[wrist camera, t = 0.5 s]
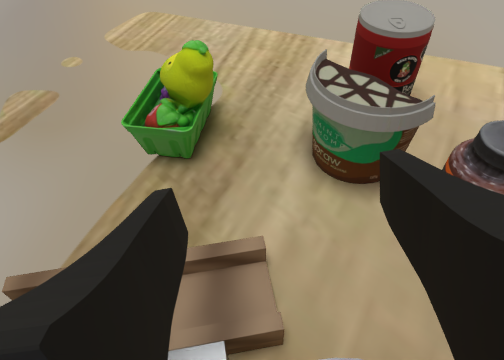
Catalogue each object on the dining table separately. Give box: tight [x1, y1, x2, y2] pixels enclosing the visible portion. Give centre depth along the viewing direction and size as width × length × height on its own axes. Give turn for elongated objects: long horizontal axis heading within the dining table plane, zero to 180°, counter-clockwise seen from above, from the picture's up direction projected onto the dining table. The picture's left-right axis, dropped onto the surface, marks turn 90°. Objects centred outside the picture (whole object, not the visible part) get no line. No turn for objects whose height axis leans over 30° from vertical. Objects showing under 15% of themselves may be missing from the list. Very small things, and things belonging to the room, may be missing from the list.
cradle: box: [2, 236, 284, 354], centre depth 27 cm, size 20×8×3 cm, turn 100°
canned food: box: [349, 0, 435, 96], centre depth 42 cm, size 8×8×11 cm
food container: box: [306, 49, 435, 184], centre depth 35 cm, size 12×6×10 cm, turn 44°
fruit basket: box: [121, 40, 217, 158], centre depth 39 cm, size 11×9×11 cm
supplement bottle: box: [442, 121, 504, 195], centre depth 29 cm, size 6×6×11 cm
